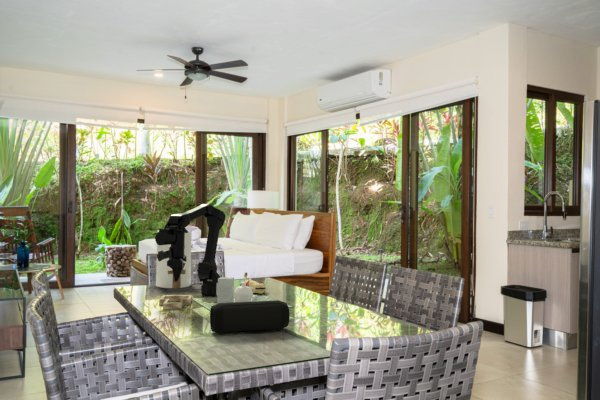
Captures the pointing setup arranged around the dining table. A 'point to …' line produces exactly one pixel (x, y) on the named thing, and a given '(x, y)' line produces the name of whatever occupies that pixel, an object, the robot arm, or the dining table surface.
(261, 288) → the cat figure
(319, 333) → the dining table surface
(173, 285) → the tan brick
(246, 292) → the white vase
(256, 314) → the portable speaker
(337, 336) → the dining table surface
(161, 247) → the cylinder
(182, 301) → the keyhole cradle
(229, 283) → the skincare box
